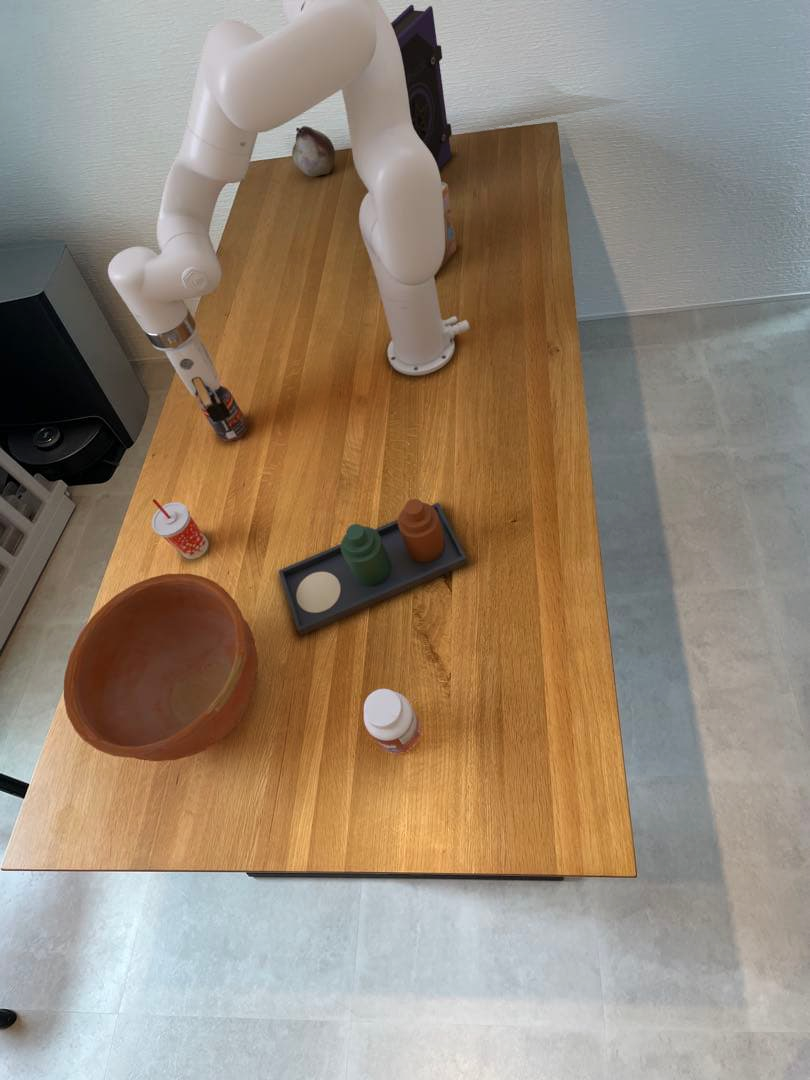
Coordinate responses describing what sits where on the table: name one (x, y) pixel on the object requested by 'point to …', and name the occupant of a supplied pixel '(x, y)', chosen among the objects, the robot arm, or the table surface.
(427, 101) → the book
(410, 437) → the table surface
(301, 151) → the fruit
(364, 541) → the green bottle
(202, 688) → the bowl
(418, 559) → the amber bottle
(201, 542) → the beverage cup
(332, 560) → the tray
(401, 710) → the pill bottle
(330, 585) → the target spot
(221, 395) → the supplement bottle
